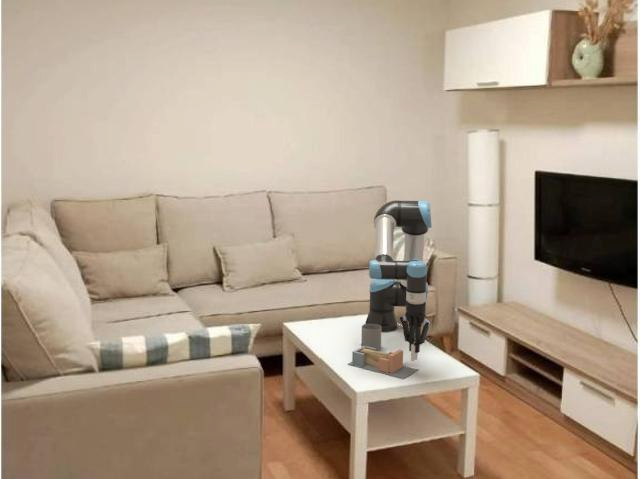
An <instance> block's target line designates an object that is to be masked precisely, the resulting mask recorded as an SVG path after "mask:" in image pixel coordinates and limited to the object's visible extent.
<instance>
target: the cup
mask: <svg viewBox="0 0 640 479" xmlns="http://www.w3.org/2000/svg"><path fill="white" fill-rule="evenodd" d="M360 340H361V342H360V343H361V345H360V346H361V347H363V346H368V347H372V348H376V351H377V352H381V349H382V332H381V326H380V325H377V324H366V323H365V324H362V325H361V339H360ZM361 347H360V348H361Z"/></svg>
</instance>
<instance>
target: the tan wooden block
mask: <svg viewBox="0 0 640 479" xmlns="http://www.w3.org/2000/svg"><path fill="white" fill-rule="evenodd" d="M359 352H360V353H364V354H365V364H366V365H370V366H374V367H377V368H378V358H379V357H381V358H385V359H389V355H390V354H389V353H386V352H381V351H378V352H377V351H373V350H369V349H363V350H361V351H359Z"/></svg>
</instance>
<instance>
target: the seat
mask: <svg viewBox="0 0 640 479" xmlns="http://www.w3.org/2000/svg"><path fill="white" fill-rule="evenodd" d="M363 349H369V350H373V351H376V348H372V347H368V346H363V347H359V348H356V349H355V350H353V351H352V354H351V355H352V356H351V359H352V360H351V362H348V363H347V365H349V366H351V367H356V368H360V369H364V370H367V371H371V372H375V373H378V374H383V375H387V376H391V377H394V378H397V379H402V380H405V379H407V378H408V377H410V376H411V375H413V374H415V373H417V372H419V371H420V369H418V368H414V367H410V366H406V365H403V367H402V368H400V369H399V370H397V371H395V372H393V373H387V372H383V371H379V370H378V368H377V367H374V366H370V365H366V364H365V354H364V353H360V352H359V351H361V350H363Z"/></svg>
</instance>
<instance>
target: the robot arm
mask: <svg viewBox="0 0 640 479" xmlns="http://www.w3.org/2000/svg"><path fill="white" fill-rule="evenodd" d="M432 225H433V224H432V216H431V204H430V203H429V202H428V201H426V200H424V201H423V200H398V199H396V200H391V201H388V202H386V203H385V204H383V205H382V206H380V208H379V209H378V210H377V211H376V213H375V215H374V219H373V227H374V229H375V243H374V259H373V260H372V259H371V260H370V261H369V265H368V274H369V275H368V276H369V279H372V280H371V282H370V285H369V312H368V314H367V318H366V320H365V324H377V325H380V326H381V333H384V332H385V333H389V332H393V331H396V330H397V329H398V325H399V324H398V319H397V316H396V313H395V307H401V308H402V307H405V313H404V315H402V316H400V317H399V321H400V322H401V326H402V332H403V336H404V341H405V342H407V343H408V344H409V346H408V350H409V352H410V361H411V362H415V361H417V360H418V358H419V357H418V354H419V353H420V351H421V350H420V349H421V345H423V344H425V341H426V340H427V339H426V338H427V335H428V331H429V327H430V326H431V325H432V321H431V320H429V319H427V315H426V311H427V310H426V309H427V308H426V306H427V305H426V304H427V303H426V302H427V300H428V293H429V284H428V282H427V279H428V278H427V277H428V265H427V263H426V262H424V248H425V247H424V246H425V234H427V233H428V231H429V229H430V228H432ZM395 228H401V231H402V233H404V247H403V248H404V250H403V251H404V252H403V260H394V243H395V242H394V236H395V235H394V233H395ZM396 280H397V281H396Z"/></svg>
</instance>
